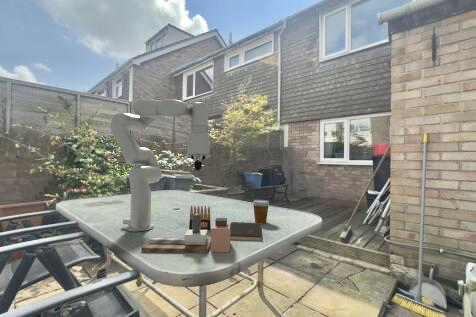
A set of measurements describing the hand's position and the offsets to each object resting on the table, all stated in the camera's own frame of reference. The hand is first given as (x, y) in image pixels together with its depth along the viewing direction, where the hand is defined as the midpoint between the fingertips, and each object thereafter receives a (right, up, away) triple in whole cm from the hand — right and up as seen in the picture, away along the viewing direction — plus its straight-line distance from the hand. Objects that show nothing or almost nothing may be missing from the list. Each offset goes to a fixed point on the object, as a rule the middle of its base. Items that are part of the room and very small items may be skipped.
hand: (197, 170), depth 109 cm
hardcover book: (+22, -32, +7) cm, 39 cm away
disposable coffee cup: (+31, -31, +26) cm, 51 cm away
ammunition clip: (-1, -31, +10) cm, 32 cm away
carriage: (+2, -28, -13) cm, 31 cm away
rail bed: (-5, -30, -14) cm, 33 cm away
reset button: (+12, -24, -14) cm, 30 cm away
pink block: (+12, -30, -14) cm, 35 cm away
